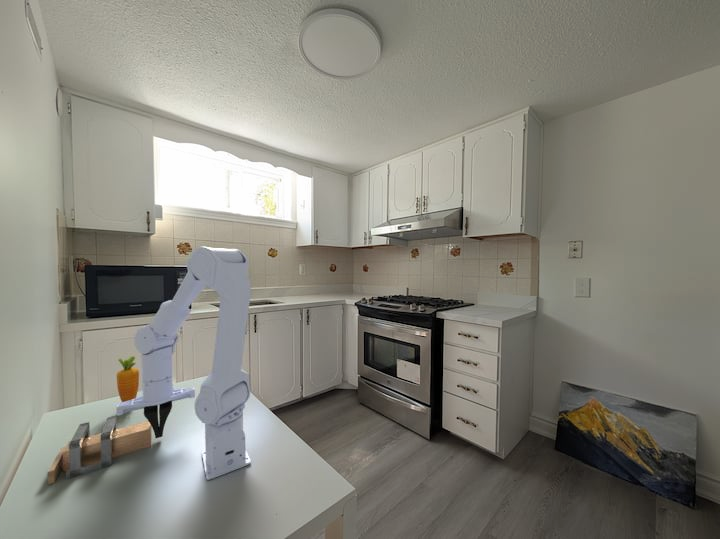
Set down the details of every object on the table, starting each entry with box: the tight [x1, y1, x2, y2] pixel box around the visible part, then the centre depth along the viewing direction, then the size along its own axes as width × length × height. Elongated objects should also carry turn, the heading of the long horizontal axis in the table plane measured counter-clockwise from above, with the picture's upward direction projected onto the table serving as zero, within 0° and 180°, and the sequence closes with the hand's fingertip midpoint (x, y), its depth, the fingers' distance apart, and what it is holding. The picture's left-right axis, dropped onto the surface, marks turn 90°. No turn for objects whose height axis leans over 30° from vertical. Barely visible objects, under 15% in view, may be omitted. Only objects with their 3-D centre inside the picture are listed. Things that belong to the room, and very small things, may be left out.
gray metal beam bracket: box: [65, 415, 118, 480], centre depth 59 cm, size 8×6×6 cm
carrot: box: [116, 355, 140, 403], centre depth 80 cm, size 5×5×15 cm
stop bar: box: [47, 446, 66, 486], centre depth 56 cm, size 8×1×2 cm, turn 34°
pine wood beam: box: [62, 420, 153, 472], centre depth 62 cm, size 4×14×4 cm, turn 124°
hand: (159, 435), depth 66 cm, fingers closed
